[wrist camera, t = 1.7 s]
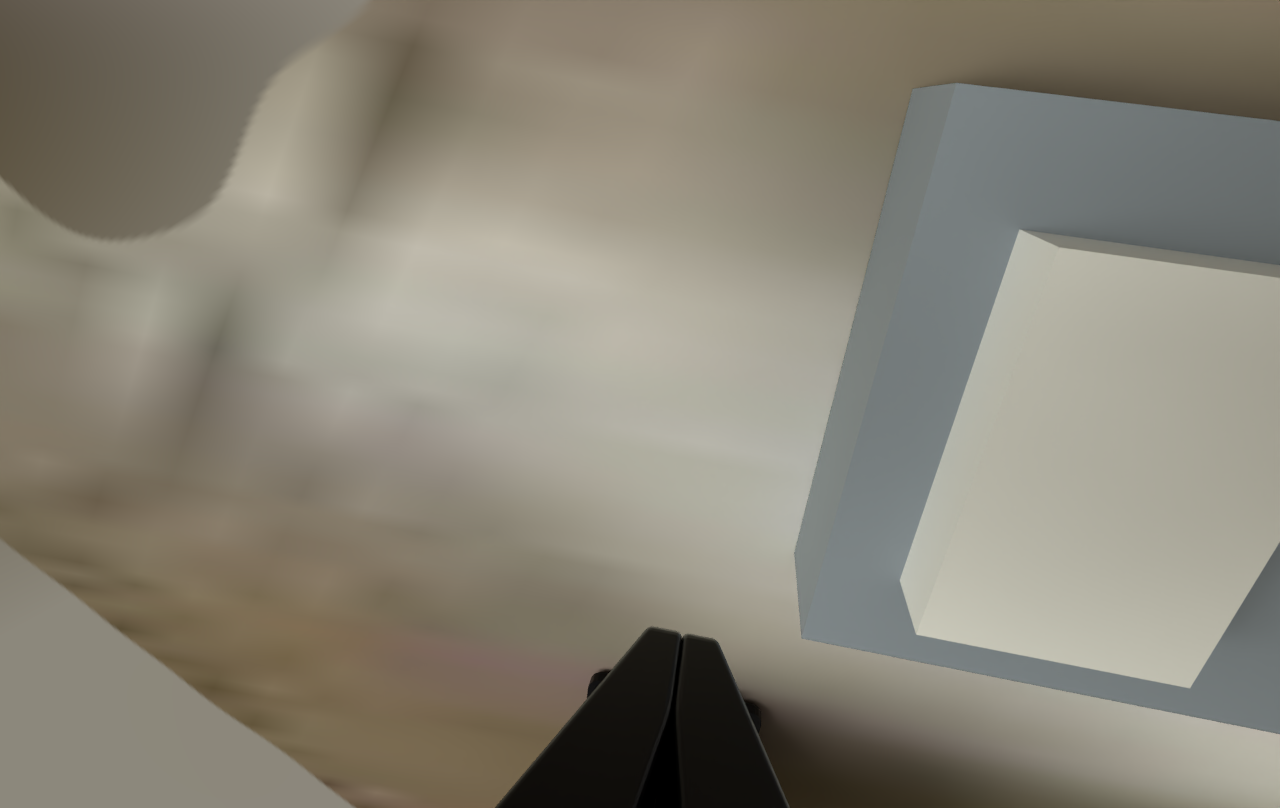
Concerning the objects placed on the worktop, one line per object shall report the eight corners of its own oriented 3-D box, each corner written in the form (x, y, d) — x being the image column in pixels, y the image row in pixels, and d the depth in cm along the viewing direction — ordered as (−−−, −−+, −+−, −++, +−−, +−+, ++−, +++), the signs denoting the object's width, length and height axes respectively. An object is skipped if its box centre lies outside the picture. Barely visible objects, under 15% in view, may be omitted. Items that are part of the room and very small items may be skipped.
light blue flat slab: (1246, 637, 21) (1348, 747, 17) (794, 552, 22) (801, 638, 19) (1546, 164, 15) (1792, 181, 12) (913, 88, 17) (956, 83, 13)
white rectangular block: (1143, 626, 17) (1190, 688, 15) (899, 580, 18) (915, 634, 16) (1337, 273, 13) (1429, 298, 11) (1019, 229, 14) (1059, 247, 12)
